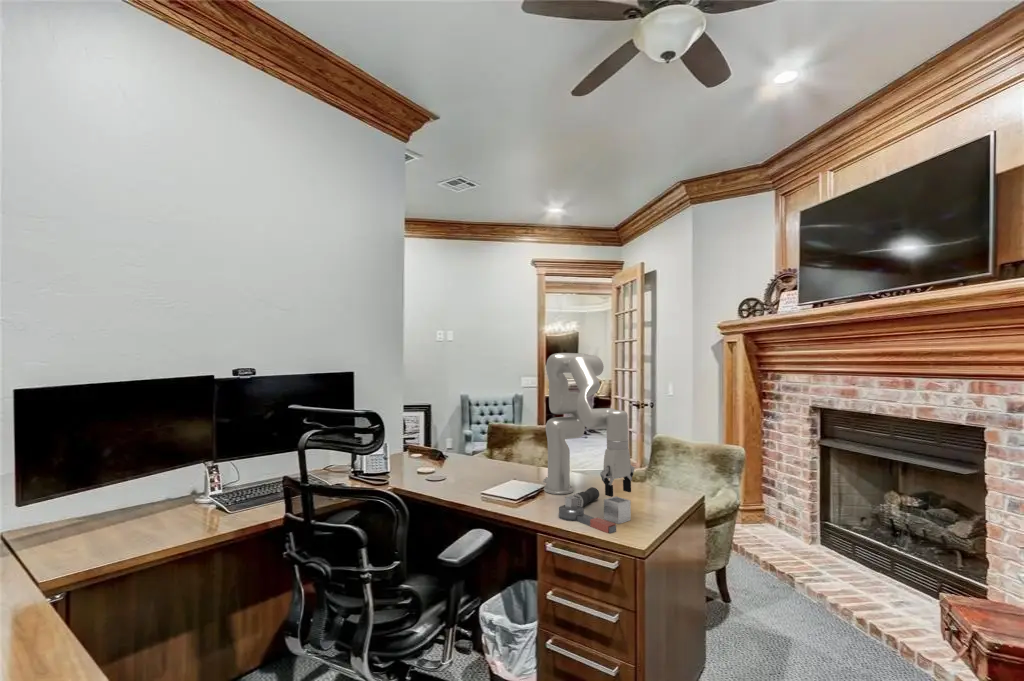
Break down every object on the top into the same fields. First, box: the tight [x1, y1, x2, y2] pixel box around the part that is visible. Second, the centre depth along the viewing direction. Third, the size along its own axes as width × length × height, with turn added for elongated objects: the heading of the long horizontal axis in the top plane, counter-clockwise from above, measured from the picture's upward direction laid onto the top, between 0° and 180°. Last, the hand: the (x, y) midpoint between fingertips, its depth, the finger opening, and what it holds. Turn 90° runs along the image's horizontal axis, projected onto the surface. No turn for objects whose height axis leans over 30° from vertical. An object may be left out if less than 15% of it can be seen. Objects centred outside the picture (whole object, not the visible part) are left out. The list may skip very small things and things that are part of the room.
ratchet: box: [558, 495, 617, 534], centre depth 170 cm, size 24×9×7 cm, turn 38°
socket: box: [603, 496, 632, 525], centre depth 173 cm, size 7×7×7 cm
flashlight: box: [571, 486, 600, 508], centre depth 192 cm, size 15×5×5 cm, turn 144°
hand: (618, 493), depth 172 cm, fingers open, 9 cm apart
